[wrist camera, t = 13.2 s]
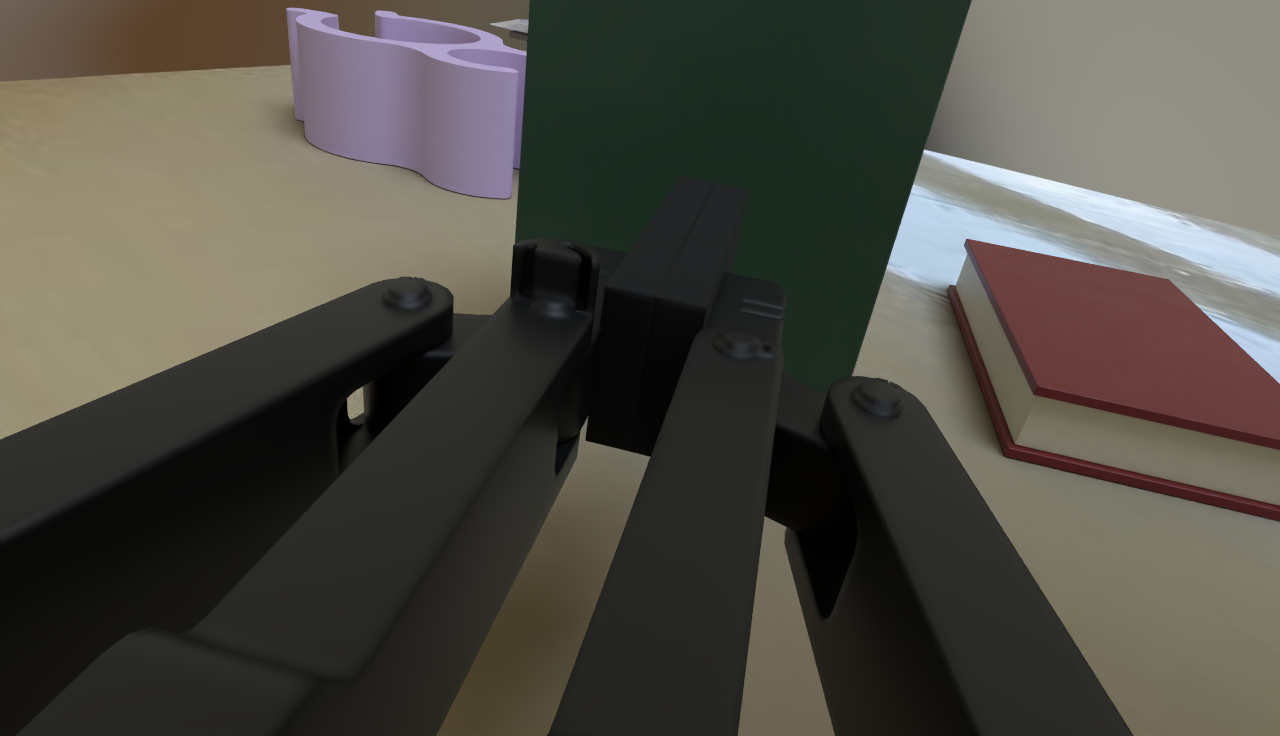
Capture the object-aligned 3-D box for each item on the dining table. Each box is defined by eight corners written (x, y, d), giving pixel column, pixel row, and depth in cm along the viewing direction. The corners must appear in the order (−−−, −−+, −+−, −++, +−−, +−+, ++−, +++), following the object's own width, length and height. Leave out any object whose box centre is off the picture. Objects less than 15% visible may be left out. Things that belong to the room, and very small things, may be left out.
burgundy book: (1358, 456, 25) (1169, 279, 38) (1037, 385, 26) (966, 238, 40) (1305, 527, 26) (1141, 331, 40) (1004, 456, 27) (946, 291, 41)
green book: (822, 468, 25) (1020, -151, 17) (505, 391, 26) (541, -216, 18) (823, 415, 28) (992, -134, 20) (538, 348, 29) (582, -191, 21)
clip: (602, 180, 50) (615, 68, 47) (446, 210, 41) (448, 75, 38) (416, 107, 60) (415, 11, 57) (259, 119, 51) (247, 6, 48)
